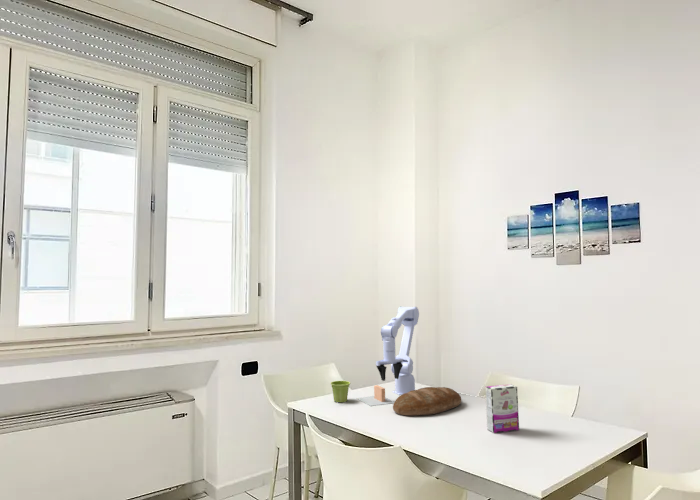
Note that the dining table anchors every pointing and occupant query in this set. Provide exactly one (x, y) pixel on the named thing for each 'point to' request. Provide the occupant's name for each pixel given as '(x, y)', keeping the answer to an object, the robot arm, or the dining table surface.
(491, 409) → the candy bar box
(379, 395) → the tile
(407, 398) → the bread
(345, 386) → the plant pot
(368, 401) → the mat
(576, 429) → the dining table surface
